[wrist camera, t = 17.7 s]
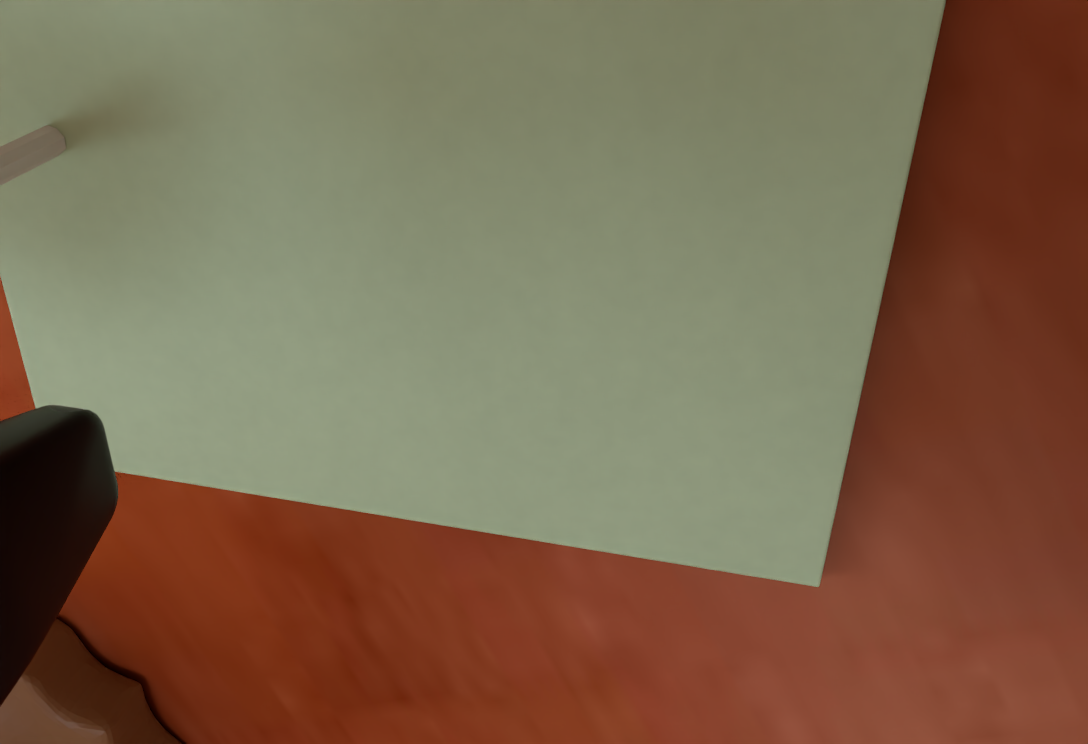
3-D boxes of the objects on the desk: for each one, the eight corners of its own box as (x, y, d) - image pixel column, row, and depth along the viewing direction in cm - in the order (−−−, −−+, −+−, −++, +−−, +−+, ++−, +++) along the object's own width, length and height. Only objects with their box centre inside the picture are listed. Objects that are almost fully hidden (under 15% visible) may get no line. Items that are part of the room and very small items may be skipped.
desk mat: (1020, -358, 15) (1024, -361, 15) (818, 576, 24) (819, 587, 24) (-156, -369, 18) (-174, -372, 18) (58, 452, 28) (48, 461, 27)
